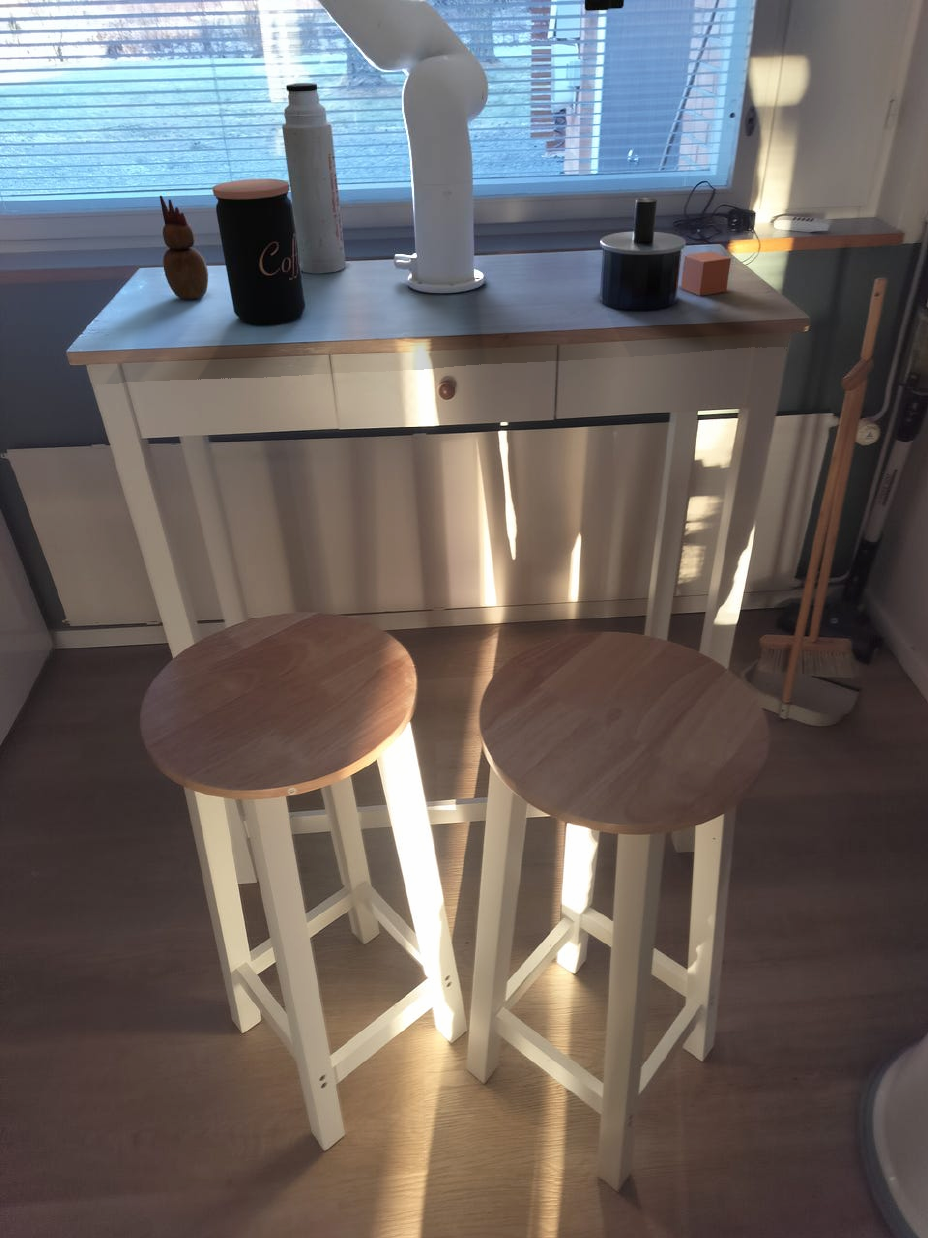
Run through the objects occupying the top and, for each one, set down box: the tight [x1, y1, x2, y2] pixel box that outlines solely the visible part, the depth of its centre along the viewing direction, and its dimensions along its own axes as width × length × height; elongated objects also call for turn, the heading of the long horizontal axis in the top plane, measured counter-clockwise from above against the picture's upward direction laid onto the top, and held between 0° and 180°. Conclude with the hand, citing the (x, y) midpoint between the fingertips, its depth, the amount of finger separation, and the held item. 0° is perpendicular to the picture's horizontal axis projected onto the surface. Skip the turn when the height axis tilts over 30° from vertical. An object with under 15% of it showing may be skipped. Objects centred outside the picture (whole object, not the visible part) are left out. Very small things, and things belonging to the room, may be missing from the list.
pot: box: [599, 248, 683, 312], centre depth 131 cm, size 11×12×8 cm
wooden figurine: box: [159, 195, 209, 301], centre depth 137 cm, size 7×6×15 cm
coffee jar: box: [212, 178, 306, 326], centre depth 126 cm, size 11×11×18 cm
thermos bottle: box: [281, 82, 347, 274], centre depth 146 cm, size 8×8×28 cm
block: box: [680, 250, 732, 297], centre depth 136 cm, size 5×5×5 cm
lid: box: [599, 197, 687, 255], centre depth 127 cm, size 12×12×7 cm
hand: (604, 9), depth 116 cm, fingers open, 9 cm apart
